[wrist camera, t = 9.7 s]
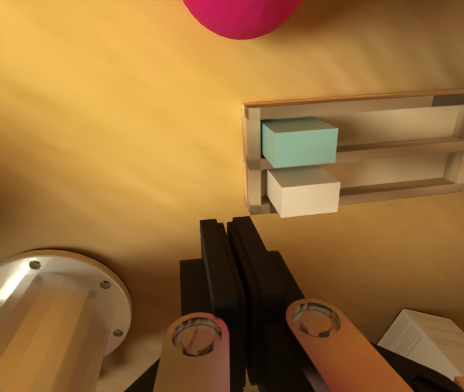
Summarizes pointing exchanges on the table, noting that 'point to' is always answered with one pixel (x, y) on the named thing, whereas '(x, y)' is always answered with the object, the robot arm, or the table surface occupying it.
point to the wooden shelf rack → (371, 144)
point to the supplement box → (427, 341)
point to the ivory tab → (302, 190)
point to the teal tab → (298, 141)
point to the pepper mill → (242, 16)
